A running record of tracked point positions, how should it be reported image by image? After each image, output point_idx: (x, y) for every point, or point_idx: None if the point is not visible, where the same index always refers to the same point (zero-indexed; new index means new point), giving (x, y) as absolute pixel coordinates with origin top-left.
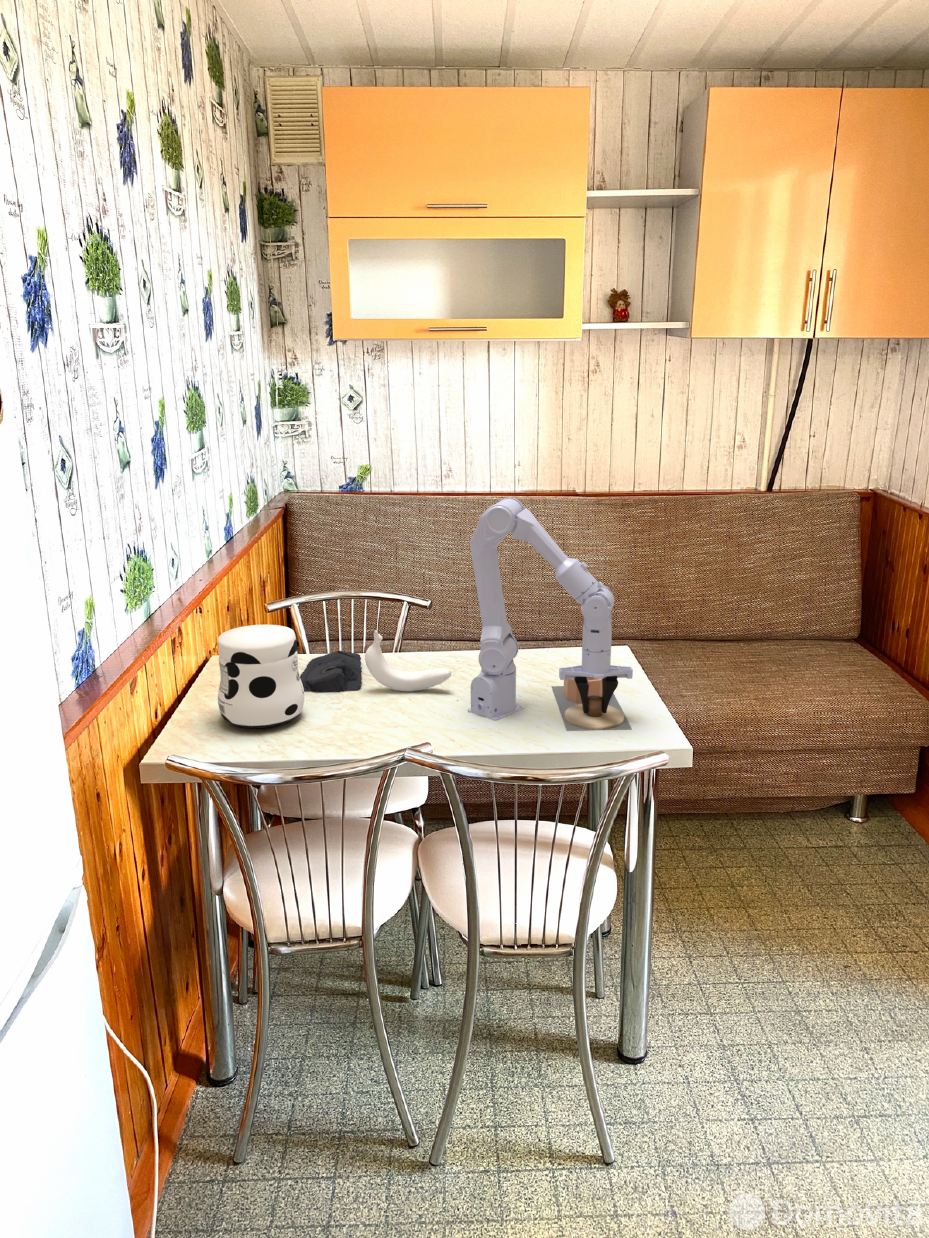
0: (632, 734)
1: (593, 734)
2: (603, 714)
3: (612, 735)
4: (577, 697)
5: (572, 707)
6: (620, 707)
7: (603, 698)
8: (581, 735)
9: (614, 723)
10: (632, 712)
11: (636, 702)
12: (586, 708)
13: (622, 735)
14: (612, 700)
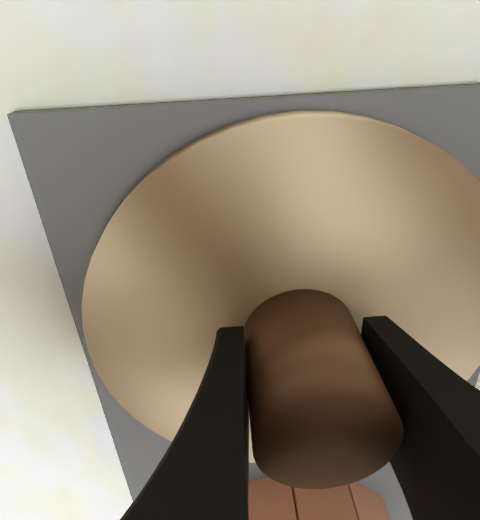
0: (4, 38)
1: (357, 38)
2: None
3: (190, 12)
4: (352, 506)
5: None
6: (117, 445)
7: (245, 445)
8: (468, 13)
9: (161, 173)
10: (48, 407)
11: (38, 500)
12: (393, 338)
13: (97, 11)
14: None
